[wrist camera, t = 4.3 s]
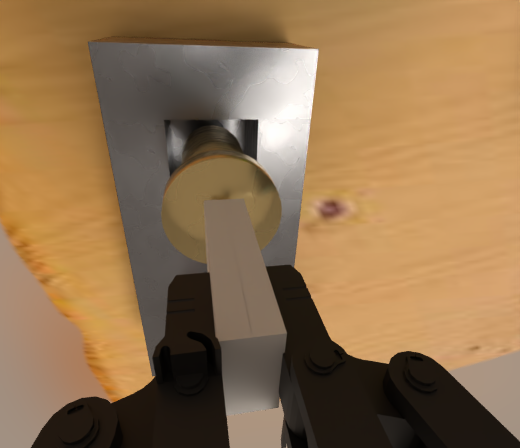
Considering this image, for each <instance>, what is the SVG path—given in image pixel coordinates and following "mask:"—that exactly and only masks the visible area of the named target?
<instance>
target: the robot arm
mask: <svg viewBox="0 0 520 448" xmlns="http://www.w3.org/2000/svg"><path fill="white" fill-rule="evenodd" d="M204 217H205V237H206V257H207V270H208V272H206V273H195V274H183V275H176V276H175V277H174V279H173V281H172V282H171V284H170V285H169V287H168V296H167V310H166V313H167V315H166V325H165V337H163V339H162V340H161V341H160V342H159V343H158V344H157V346H156V347H155V350H154V353H153V356H152V359H153V365H154V370H155V377H154V379H153V380H152V381H151V382H150V383H149V384H148V385H146V386H145V387H144V388H143V389H141V390H139V391H137V392H135V393H134V394H131V395H129V396H127V397H125V398H122V399H120V400H118V401H116V402H113V403H110V402H109V401H108V400H106V399H102V398H99V397H87V398H81V399H78V400H76V401H74V402H71V403H69V404H67V405H66V406H64V407H63V408H62V409H60V410H59V411H58V412H56V413H55V414H54V415H53V416H52V417H51V418H50V419H49V421H48V422H47V423H46V425H45V426H44V427H43V428H42V430H41V432H40V433H39V435H38V437H37V438H36V440H35V442H34V444H33V445H32V447H31V448H230V446H229V436H228V426H227V417H226V416H229V415H235V414H241V413H247V412H253V411H259V410H266V409H272V408H278V407H279V399H281V403H282V407H283V411H284V420H283V428H282V435H281V446H282V447H281V448H286V443H287V447H288V448H520V442H519V440H518V439H517V438H516V437H514V436H513V435H512V434H511V433H510V432H509V431H508V430H507V429H506V428H505V427H504V426H503V425H502V424H501V423H500V422H499V421H498V420H497V419H496V418H495V417H494V416H493V415H492V414H491V413H490V412H489V411H488V410H487V409H485V407H484V406H483V405H481V404H480V403H479V402H478V401H477V400H476V399H475V398H474V397H473V396H472V395H471V394H470V393H469V392H468V391H467V390H466V389H465V388H464V387H463V386H462V385H461V384H460V383H459V382H458V381H457V380H456V379H455V378H454V377H453V376H452V375H451V374H450V373H449V372H448V371H447V370H446V369H444V368H443V367H442V366H441V365H440V364H438V363H437V362H436V361H435V360H433V359H432V358H430V357H428V356H425V355H423V354H421V353H417V352H411V351H406V352H400V353H397V354H396V355H395V356H393V357H392V358H391V360H390V363H389V364H386V363H380V362H373V361H367V360H362V359H358V358H354V357H352V356H350V355H348V354H347V353H346V352H345V350H344V349H343V348H342V347H340V346H339V345H338V344H336V343H335V342H333V341H332V340H331V338H330V337H329V335H328V333H327V330H326V328H325V326H324V324H323V322H322V319H321V317H320V315H319V313H318V311H317V308H316V306H315V304H314V302H313V300H312V299H311V295H310V293H309V291H308V288H306V284H305V282H304V280H303V277H302V275H301V274H300V273H299V272H298V271H297V270H296V269H295V268H294V267H292V266H291V265H290V264H289V265H277V266H265V263H264V260H263V257H262V254H261V251H260V248H259V245H258V242H257V239H256V235H255V232H254V229H253V226H252V223H251V220H250V217H249V214H248V211H247V207H246V204H245V201H244V199H223V200H204Z"/></svg>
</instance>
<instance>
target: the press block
mask: <svg viewBox="0 0 520 448" xmlns="http://www.w3.org/2000/svg"><path fill="white" fill-rule="evenodd" d="M88 46H89V51H90V56H91V61H92V66H93V71H94V77H95V82H96V87H97V92H98V97H99V103H100V108H101V113H102V118H103V123H104V128H105V134H106V139H107V144H108V149H109V154H110V159H111V165H112V170H113V175H114V180H115V185H116V190H117V196H118V201H119V206H120V211H121V216H122V221H123V227H124V232H125V237H126V242H127V247H128V252H129V258H130V263H131V268H132V273H133V278H134V283H135V289H136V294H137V299H138V304H139V309H140V314H141V320H142V325H143V330H144V335H145V340H146V345H147V351H148V356H149V361H150V366H151V371H152V376H155V370H154V365H153V359H152V356H153V353H154V350H155V347H156V346H157V344H158V343H159V342H160V341H161V340H162V339H163V337H165V325H166V315H167V313H166V310H167V296H168V287H169V285H170V284H171V282H172V281H173V279H174V277H175V276H176V275H183V274H195V273H206V272H208V270H207V264H205V263H201V262H198V261H195V260H192V259H190V258H188V257H187V256H185V255H183V254H182V253H181V252H179V251H178V250H177V249H176V248H175V247H174V246H173V245H172V243H171V242H170V241H169V239H168V238H167V236H166V234H165V231H164V229H163V225H162V218H161V211H162V203H163V196H164V191H165V187H166V184H167V182H168V180H169V178H170V176H171V175H172V173H173V172H174V171H175V170H176V169H177V167H179V166H180V165H181V162H182V148H183V145H184V142H185V140H186V139H187V137H188V136H189V135H190V134H191V133H192V132H193V131H195V130H196V129H198V128H201V127H204V126H219V127H222V128H225V129H227V130H228V131H230V132H231V133H232V134H233V135H234V136H235V137H236V139H237V140H238V142H239V144H240V146H241V149H242V151H243V153H244V154H245V155H247V156H249V157H251V158H253V159H254V160H256V161H257V162H258V163H259V164H261V165H262V166H263V168H264V169H265V170H266V171H267V173H268V174H269V176H270V177H271V179H272V181H273V183H274V185H275V187H276V189H277V191H278V193H279V196H280V199H281V206H282V215H281V221H280V224H279V227H278V229H277V232H276V234H275V235H274V237H273V238H272V240H271V241H270V242H269V243H268V245H267V246H266V247H264V248H263V249H262V250H261V254H262V257H263V260H264V263H265V266H277V265H289V264H290V265H291V266H292V267H294V263H295V254H296V246H297V237H298V228H299V219H300V210H301V201H302V193H303V184H304V175H305V166H306V157H307V148H308V139H309V131H310V122H311V113H312V104H313V95H314V86H315V78H316V69H317V60H318V51H319V49H315V48H310V47H305V46H301V45H296V44H292V43H277V42H249V41H221V40H193V39H166V38H138V37H108V38H103V39H98V40H94V41H89V42H88Z"/></svg>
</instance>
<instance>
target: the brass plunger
mask: <svg viewBox="0 0 520 448" xmlns="http://www.w3.org/2000/svg"><path fill="white" fill-rule="evenodd" d="M223 199H244V201H245V204H246V207H247V211H248V214H249V217H250V220H251V223H252V226H253V229H254V232H255V235H256V239H257V242H258V245H259V248H260V251H261V250H262V249H263V248H264V247H266V246H267V245H268V243H269V242H270V241H271V240H272V238H273V237H274V235H275V234H276V232H277V229H278V227H279V224H280V221H281V215H282V206H281V199H280V196H279V193H278V191H277V189H276V187H275V185H274V183H273V181H272V179H271V177H270V176H269V174H268V173H267V171H266V170H265V169H264V168H263V166H262V165H261V164H259V163H258V162H257V161H256V160H254V159H253V158H251V157H249V156H247V155H245V154H244V153H243V151H242V149H241V146H240V144H239V142H238V140H237V139H236V137H235V136H234V135H233V134H232V133H231V132H230V131H228V130H227V129H225V128H222V127H219V126H204V127H201V128H198V129H196V130H195V131H193V132H192V133H191V134H190V135H189V136H188V137H187V139H186V140H185V142H184V145H183V148H182V162H181V165H180V166H179V167H177V169H176V170H175V171H174V172H173V173H172V175H171V176H170V178H169V180H168V182H167V184H166V187H165V191H164V196H163V203H162V211H161V218H162V225H163V229H164V231H165V234H166V236H167V238H168V239H169V241H170V242H171V243H172V245H173V246H174V247H175V248H176V249H177V250H178V251H179V252H181V253H182V254H183V255H185V256H187V257H188V258H190V259H192V260H195V261H198V262H201V263H205V264H207V257H206V237H205V217H204V200H223Z"/></svg>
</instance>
